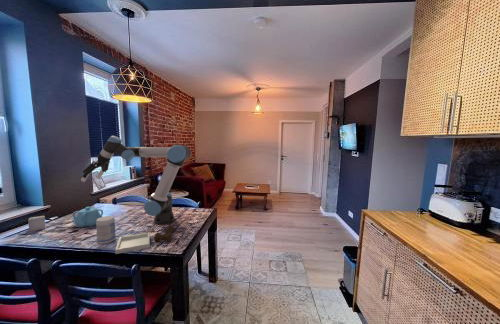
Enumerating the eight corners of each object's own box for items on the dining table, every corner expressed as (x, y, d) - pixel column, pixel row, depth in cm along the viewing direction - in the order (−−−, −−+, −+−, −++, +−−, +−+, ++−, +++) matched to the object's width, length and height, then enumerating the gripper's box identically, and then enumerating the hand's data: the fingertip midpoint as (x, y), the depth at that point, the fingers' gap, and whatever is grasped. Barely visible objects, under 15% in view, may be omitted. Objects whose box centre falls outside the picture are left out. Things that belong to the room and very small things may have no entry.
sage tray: (149, 235, 135) (149, 232, 135) (149, 247, 120) (149, 243, 120) (119, 240, 128) (119, 237, 127) (115, 254, 112) (115, 249, 112)
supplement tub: (115, 242, 126) (114, 219, 125) (96, 246, 121) (95, 222, 119) (115, 236, 134) (114, 214, 133) (97, 239, 129) (96, 217, 127)
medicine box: (45, 226, 147) (44, 215, 146) (45, 228, 144) (44, 216, 143) (29, 229, 141) (28, 217, 141) (29, 231, 138) (28, 219, 137)
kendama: (178, 232, 142) (167, 246, 122) (164, 233, 141) (151, 246, 122) (178, 224, 141) (166, 236, 121) (164, 224, 141) (150, 237, 121)
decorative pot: (70, 225, 149) (69, 208, 148) (96, 219, 163) (95, 202, 162) (80, 231, 141) (78, 212, 140) (105, 223, 155) (105, 206, 153)
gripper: (113, 152, 157) (99, 174, 158) (86, 153, 132) (70, 179, 133) (121, 157, 157) (107, 179, 158) (96, 159, 132) (80, 185, 133)
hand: (90, 179), depth 146 cm, fingers open, 13 cm apart
